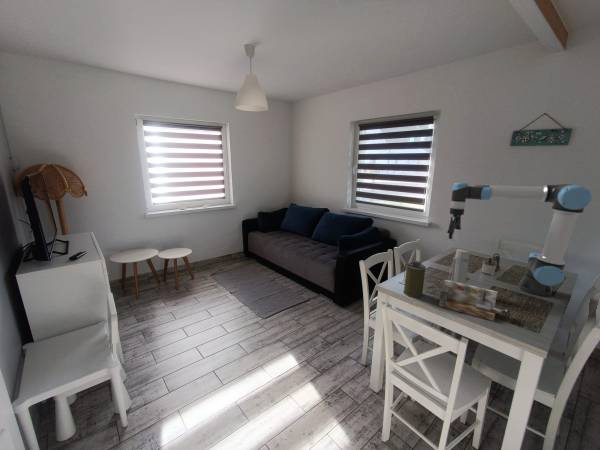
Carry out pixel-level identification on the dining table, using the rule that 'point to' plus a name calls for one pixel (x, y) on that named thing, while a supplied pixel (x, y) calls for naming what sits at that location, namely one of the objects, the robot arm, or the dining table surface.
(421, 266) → the canister
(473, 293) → the brown wooden box
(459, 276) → the water bottle
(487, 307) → the silver block with knob
